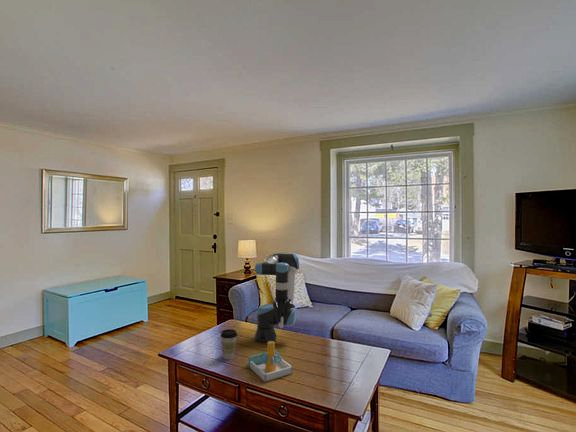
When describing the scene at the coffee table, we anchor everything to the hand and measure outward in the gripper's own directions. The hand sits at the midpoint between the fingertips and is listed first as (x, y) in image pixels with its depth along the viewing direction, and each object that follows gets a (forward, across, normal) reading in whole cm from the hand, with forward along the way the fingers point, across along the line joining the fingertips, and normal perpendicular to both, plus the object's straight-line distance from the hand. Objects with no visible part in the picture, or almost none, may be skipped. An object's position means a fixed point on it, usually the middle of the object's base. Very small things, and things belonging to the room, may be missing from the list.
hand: (280, 327), depth 186 cm
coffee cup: (+17, +28, -14) cm, 36 cm away
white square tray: (+17, +14, +12) cm, 25 cm away
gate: (+17, +14, +3) cm, 22 cm away
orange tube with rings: (+16, +15, +13) cm, 26 cm away
